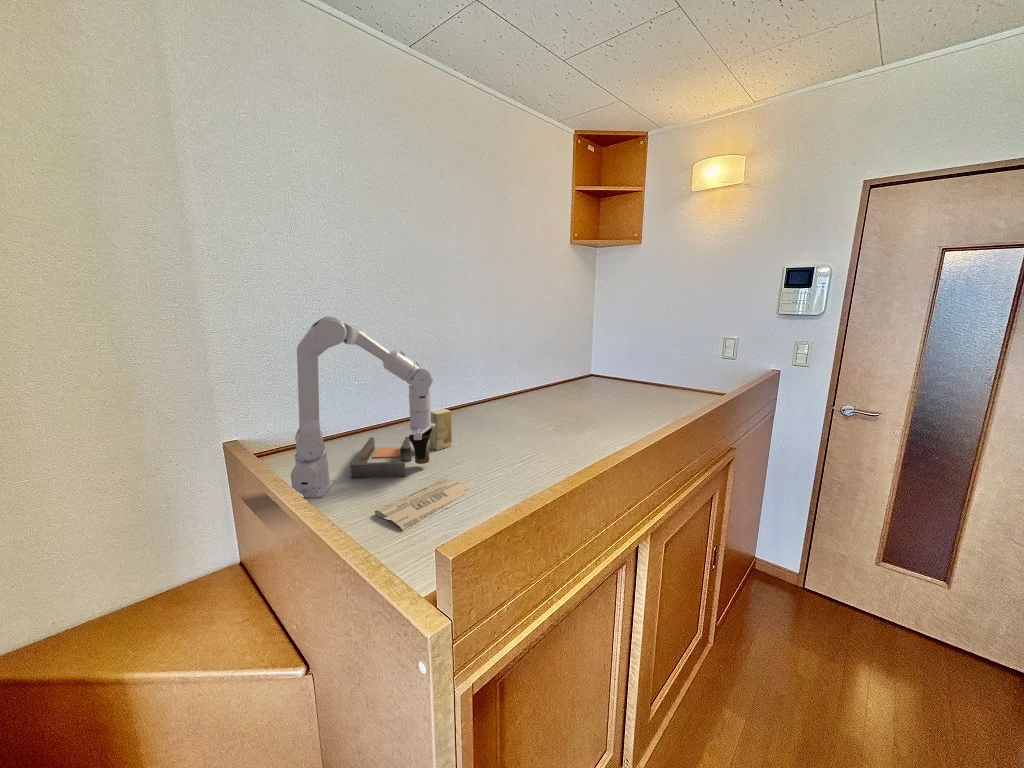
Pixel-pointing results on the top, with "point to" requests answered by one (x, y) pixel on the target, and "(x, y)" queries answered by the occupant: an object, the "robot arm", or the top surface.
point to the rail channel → (379, 463)
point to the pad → (387, 452)
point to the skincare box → (440, 429)
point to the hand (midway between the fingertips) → (421, 455)
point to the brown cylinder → (426, 460)
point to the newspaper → (423, 503)
